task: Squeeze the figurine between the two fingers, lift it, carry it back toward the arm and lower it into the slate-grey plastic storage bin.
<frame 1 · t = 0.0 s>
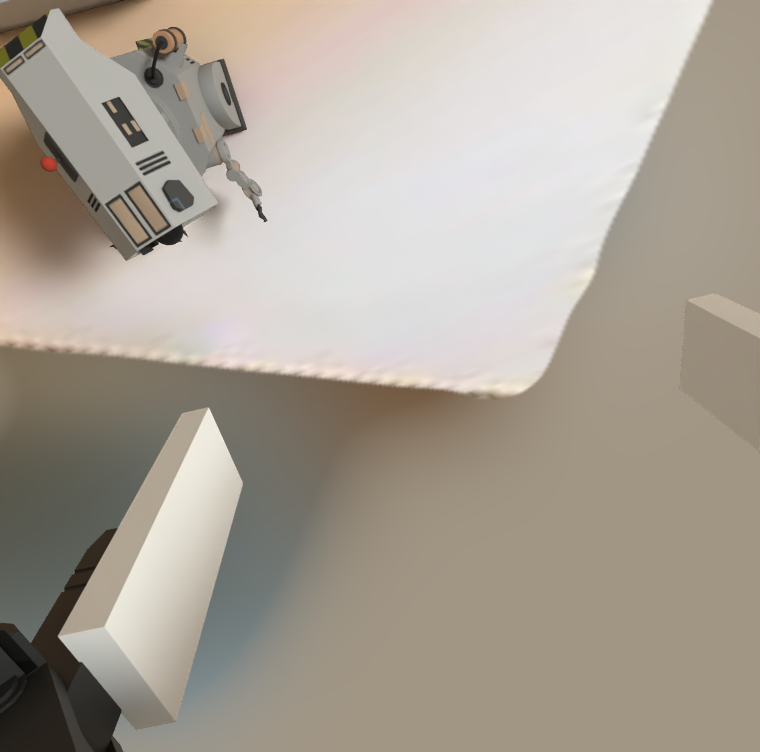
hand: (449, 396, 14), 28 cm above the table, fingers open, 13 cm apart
figurine: (191, 144, 35), on the table
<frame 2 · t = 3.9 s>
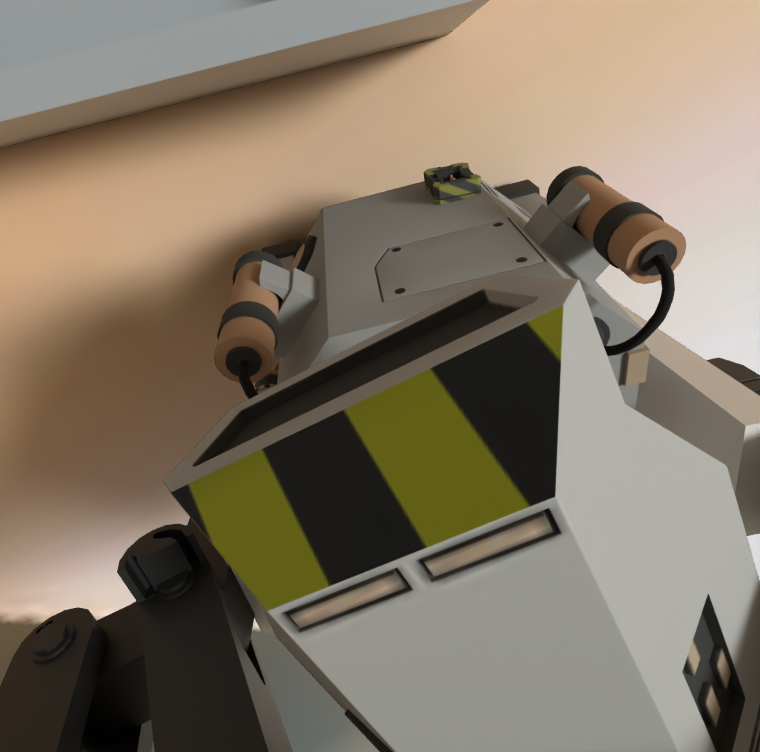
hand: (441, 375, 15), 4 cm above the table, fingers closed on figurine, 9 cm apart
figurine: (419, 324, 18), on the table, touching gripper
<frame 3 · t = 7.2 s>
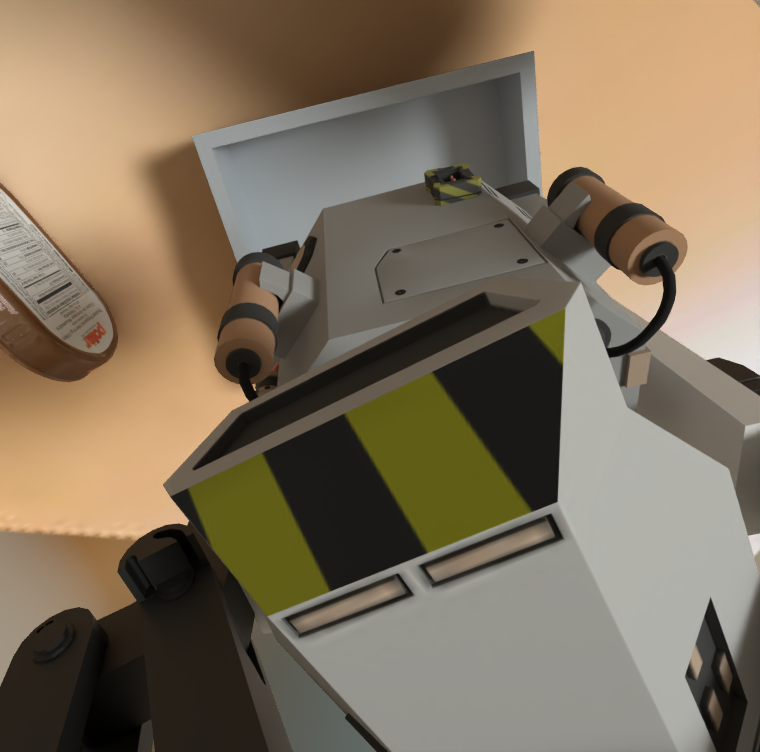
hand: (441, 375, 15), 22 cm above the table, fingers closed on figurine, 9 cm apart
tin: (50, 253, 34), on the table
bin: (385, 231, 34), on the table
figurine: (419, 325, 18), point 18 cm above the table, touching gripper
when the fingers open (6 cm above the table, at t = 10.8 s): figurine drops 2 cm, resting on bin.
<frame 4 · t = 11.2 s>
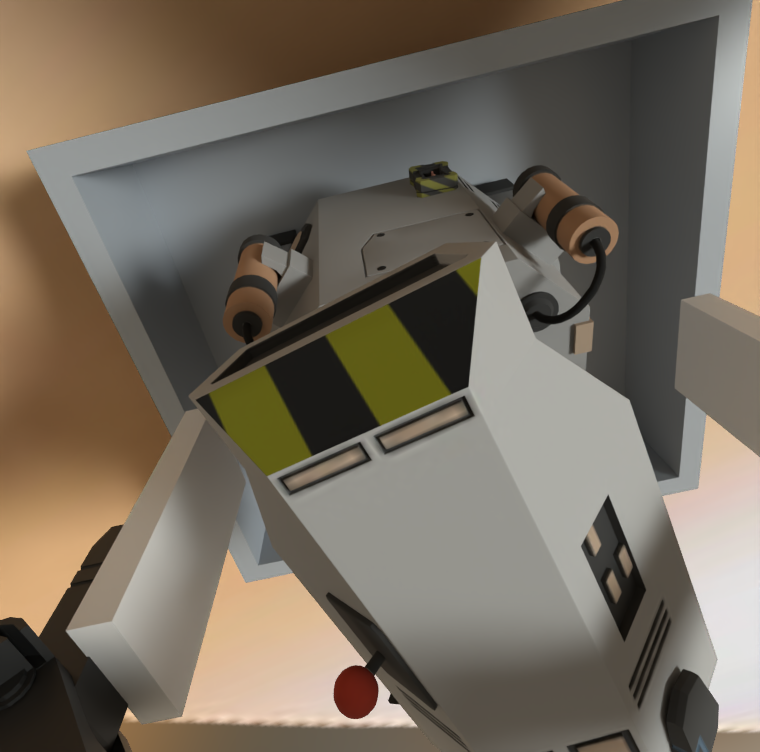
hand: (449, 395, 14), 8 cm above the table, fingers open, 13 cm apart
bin: (414, 305, 20), on the table
figurine: (407, 311, 20), point 1 cm above the table, touching bin
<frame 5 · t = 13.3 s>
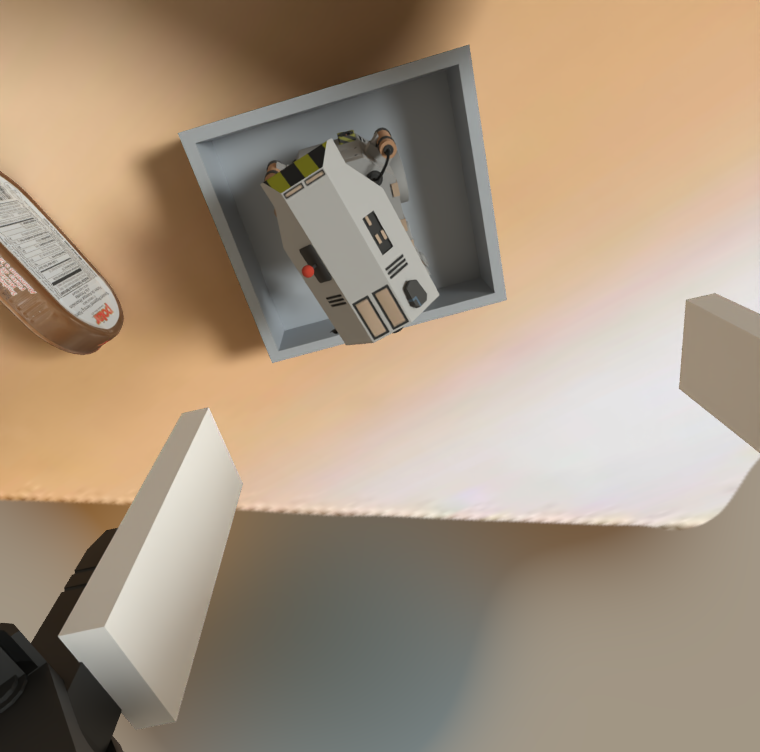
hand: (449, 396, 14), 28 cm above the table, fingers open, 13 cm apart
tin: (61, 244, 38), on the table
bin: (356, 212, 38), on the table
figurine: (351, 214, 38), point 1 cm above the table, touching bin
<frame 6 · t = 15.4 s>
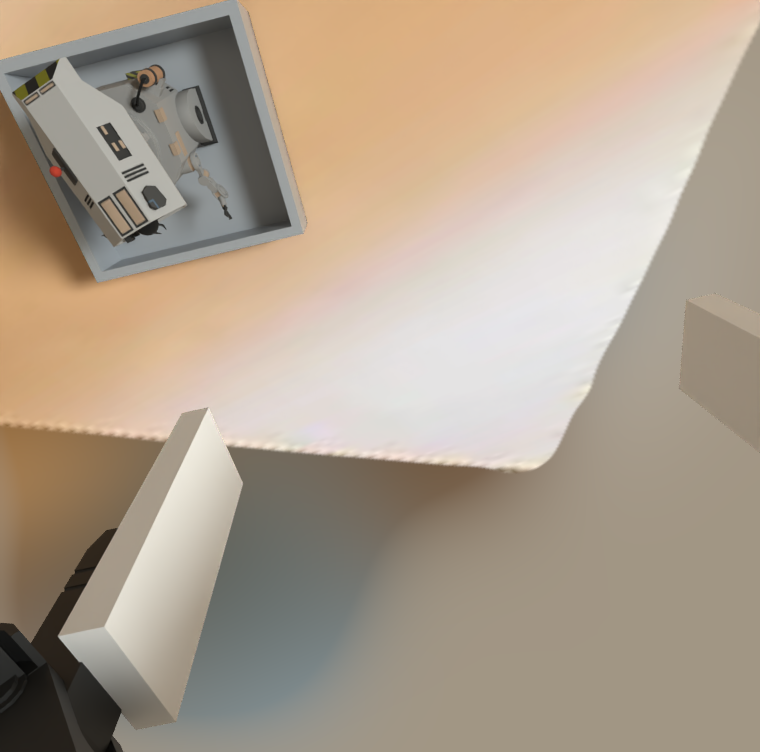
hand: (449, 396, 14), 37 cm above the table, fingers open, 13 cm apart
bin: (178, 152, 43), on the table
figurine: (171, 153, 43), point 1 cm above the table, touching bin
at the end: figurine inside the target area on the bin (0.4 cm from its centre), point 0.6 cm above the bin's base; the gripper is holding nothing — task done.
